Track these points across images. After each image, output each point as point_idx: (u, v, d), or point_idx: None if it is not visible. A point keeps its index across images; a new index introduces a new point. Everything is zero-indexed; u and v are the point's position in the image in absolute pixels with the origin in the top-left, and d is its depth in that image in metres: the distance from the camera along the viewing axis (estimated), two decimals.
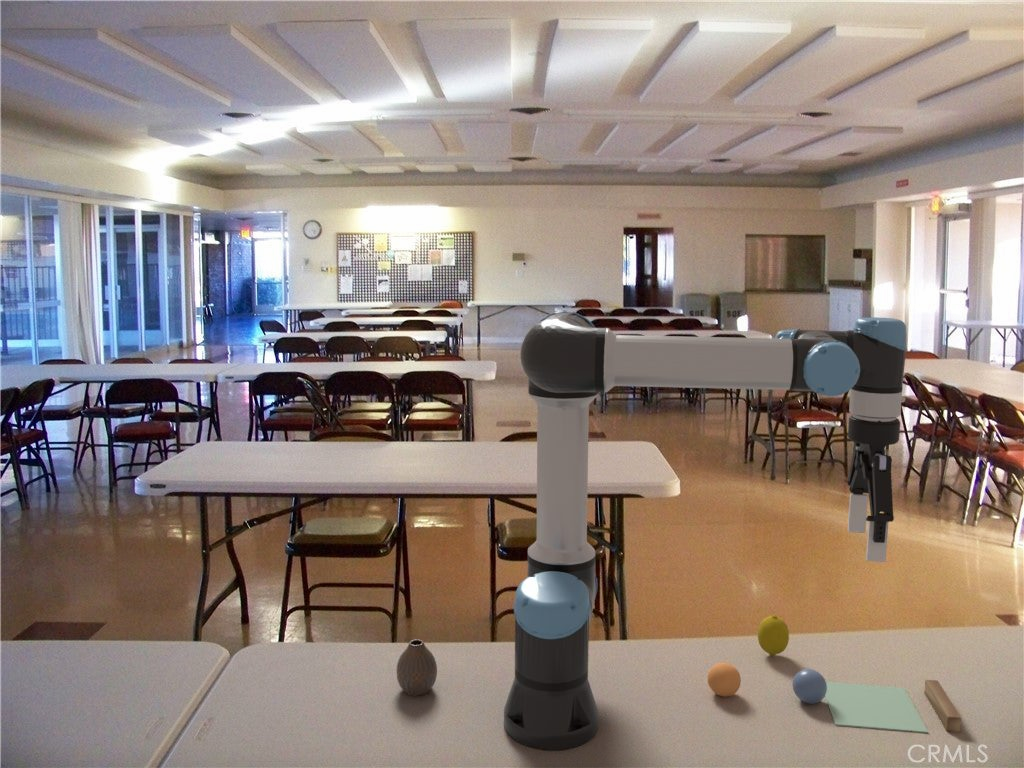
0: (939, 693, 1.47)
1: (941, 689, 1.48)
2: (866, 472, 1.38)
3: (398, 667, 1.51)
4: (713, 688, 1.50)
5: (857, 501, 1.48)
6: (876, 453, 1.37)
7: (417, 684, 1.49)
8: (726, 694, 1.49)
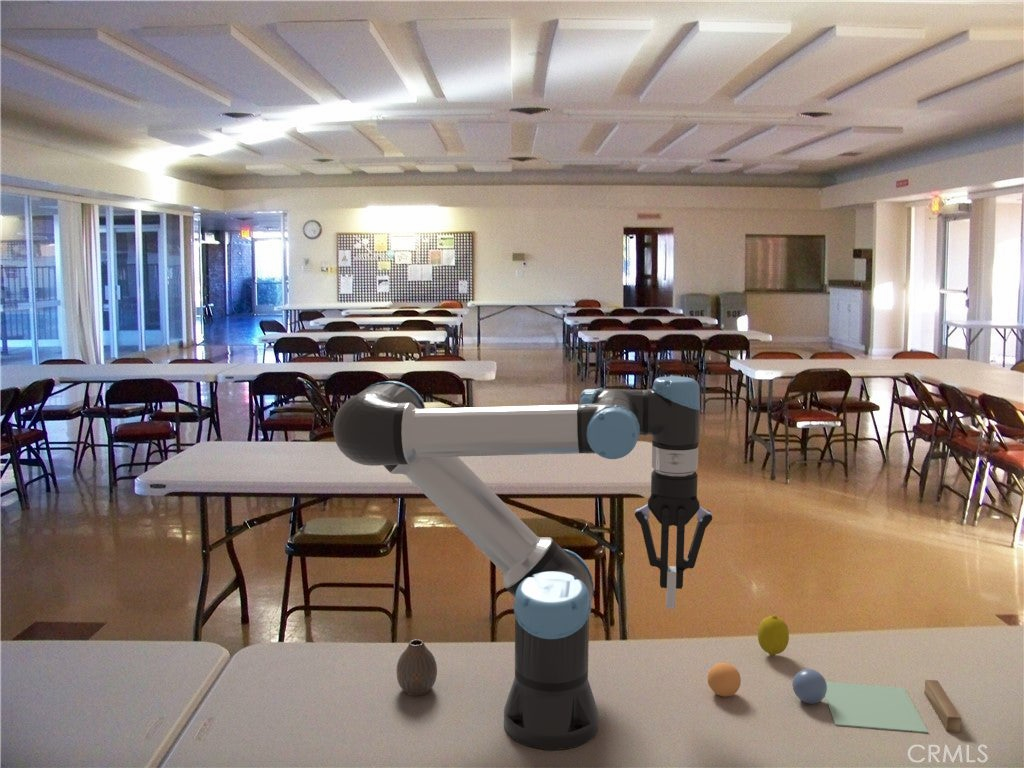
0: (939, 693, 1.47)
1: (941, 689, 1.48)
2: None
3: (398, 667, 1.51)
4: (713, 688, 1.50)
5: None
6: None
7: (417, 684, 1.49)
8: (726, 694, 1.49)
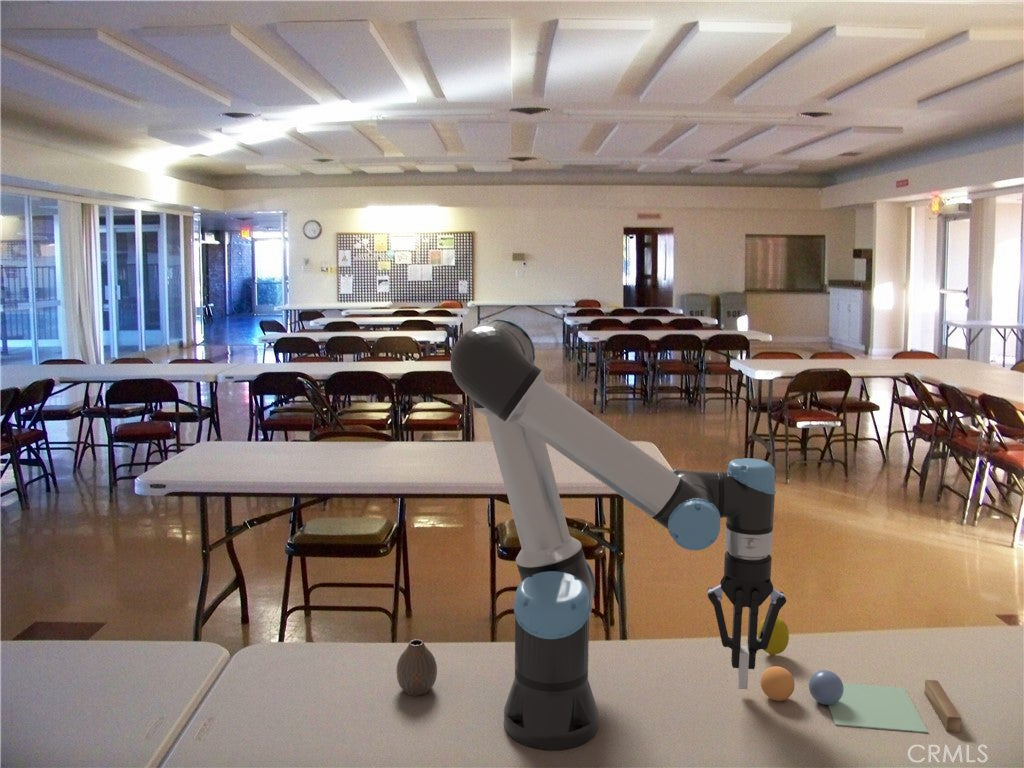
0: (939, 693, 1.47)
1: (941, 689, 1.48)
2: None
3: (398, 667, 1.51)
4: (789, 682, 1.48)
5: None
6: None
7: (417, 684, 1.49)
8: (776, 681, 1.48)
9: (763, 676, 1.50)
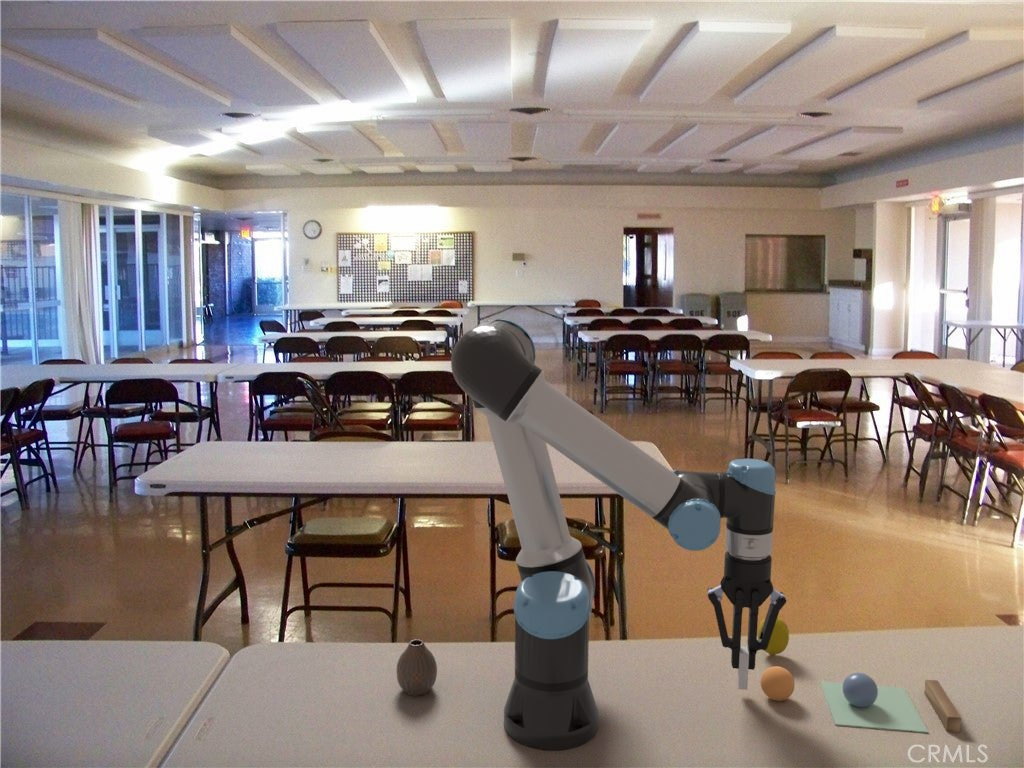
0: (939, 693, 1.47)
1: (941, 689, 1.48)
2: None
3: (398, 667, 1.51)
4: (789, 682, 1.48)
5: None
6: None
7: (417, 684, 1.49)
8: (776, 681, 1.48)
9: (763, 676, 1.50)
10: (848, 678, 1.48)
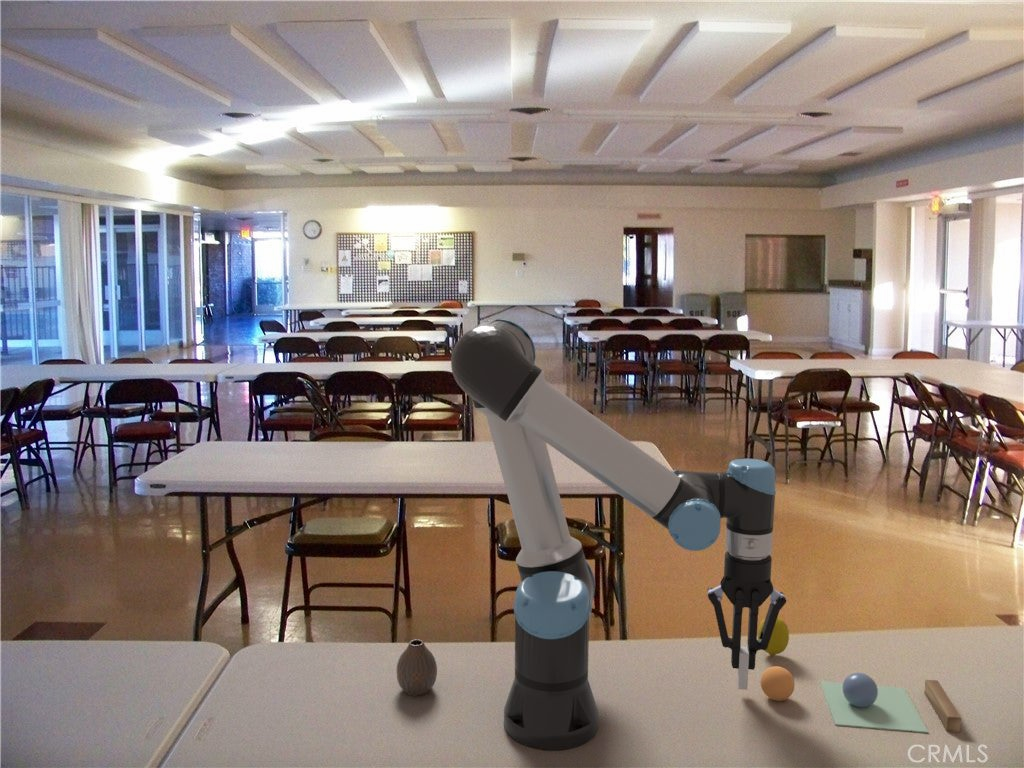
0: (939, 693, 1.47)
1: (941, 689, 1.48)
2: None
3: (398, 667, 1.51)
4: (789, 682, 1.48)
5: None
6: None
7: (417, 684, 1.49)
8: (776, 681, 1.48)
9: (763, 676, 1.50)
10: (848, 678, 1.48)
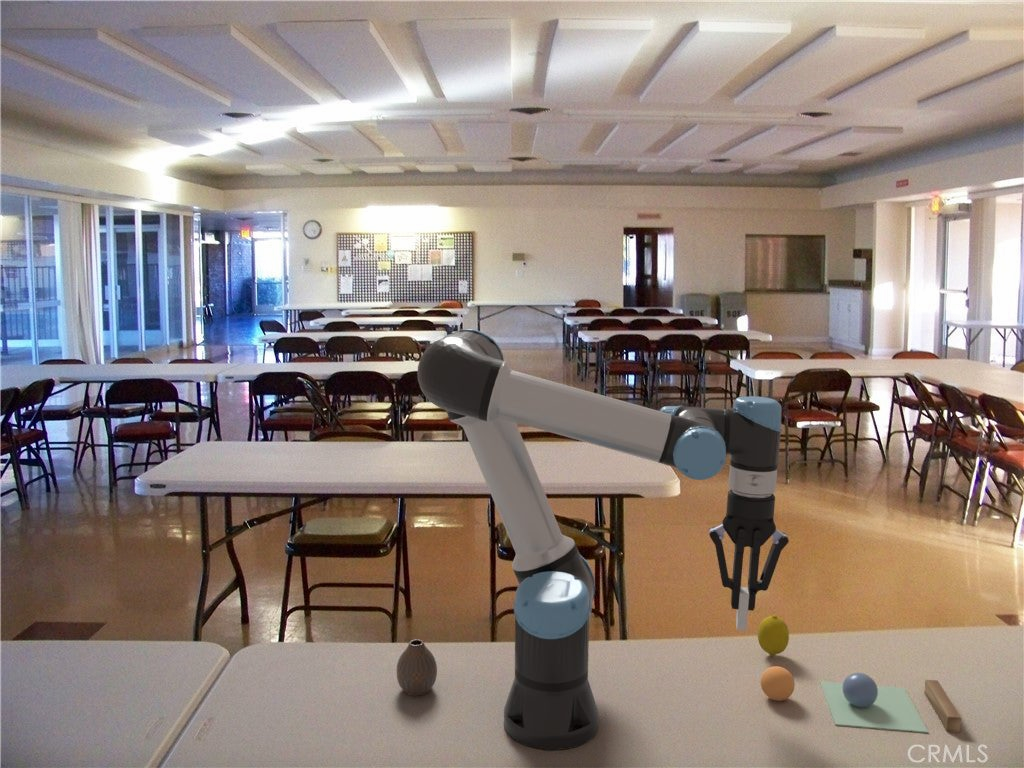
0: (939, 693, 1.47)
1: (941, 689, 1.48)
2: None
3: (398, 667, 1.51)
4: (789, 682, 1.48)
5: None
6: None
7: (417, 684, 1.49)
8: (776, 681, 1.48)
9: (763, 676, 1.50)
10: (848, 678, 1.48)
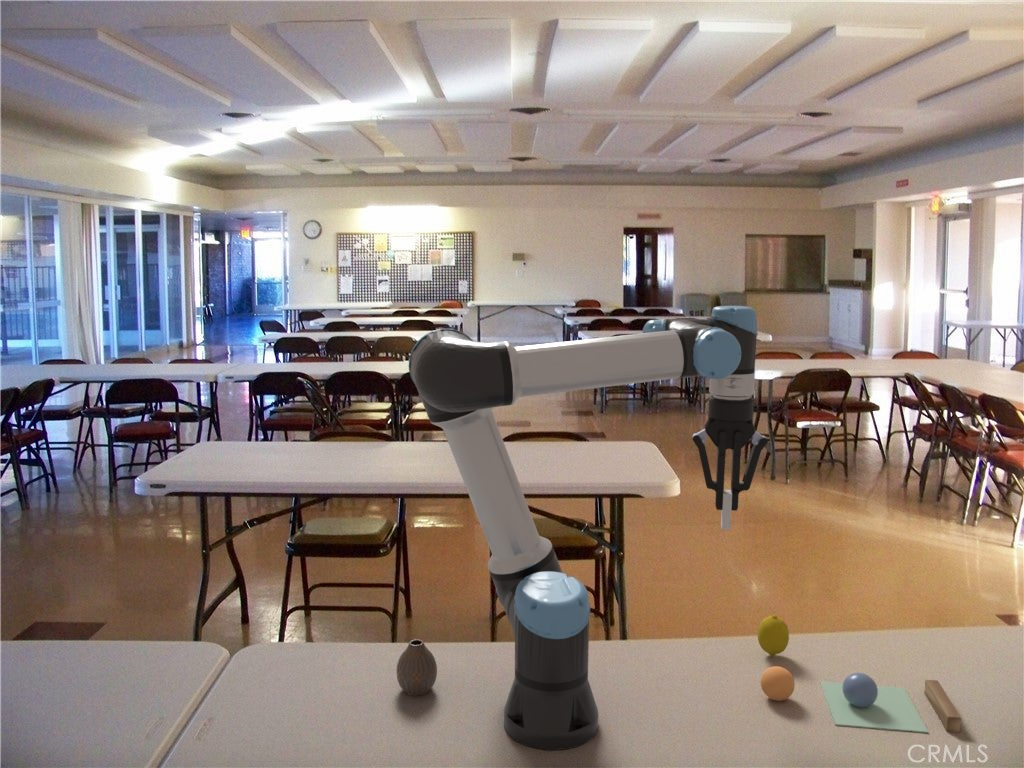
0: (939, 693, 1.47)
1: (941, 689, 1.48)
2: None
3: (398, 667, 1.51)
4: (789, 682, 1.48)
5: None
6: None
7: (417, 684, 1.49)
8: (776, 681, 1.48)
9: (763, 676, 1.50)
10: (848, 678, 1.48)
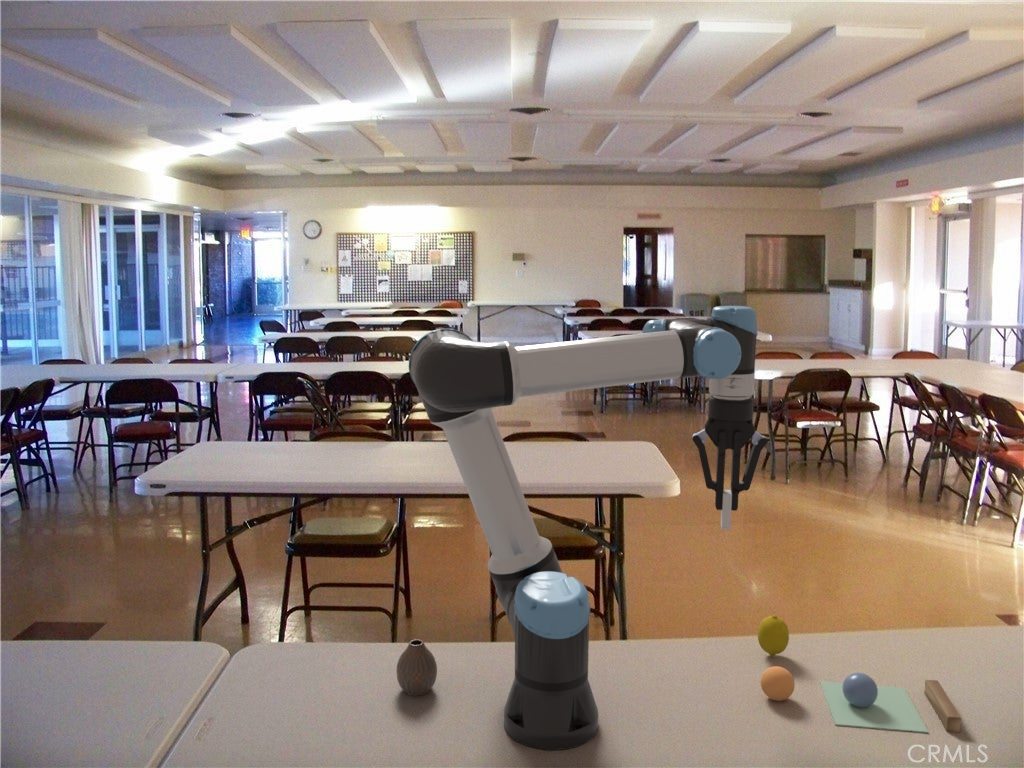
0: (939, 693, 1.47)
1: (941, 689, 1.48)
2: None
3: (398, 667, 1.51)
4: (789, 682, 1.48)
5: None
6: None
7: (417, 684, 1.49)
8: (776, 681, 1.48)
9: (763, 676, 1.50)
10: (848, 678, 1.48)
